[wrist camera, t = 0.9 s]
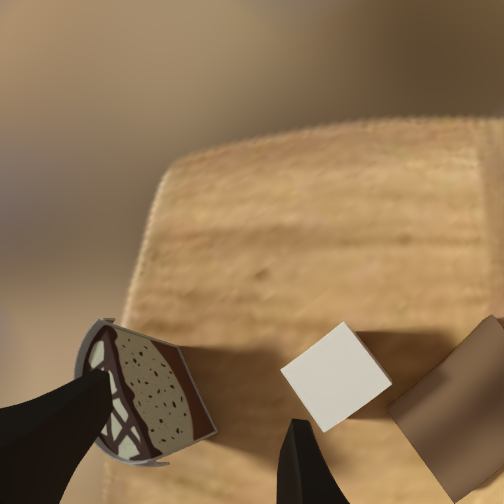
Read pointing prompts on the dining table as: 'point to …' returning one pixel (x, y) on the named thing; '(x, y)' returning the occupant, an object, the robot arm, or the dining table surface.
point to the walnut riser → (459, 412)
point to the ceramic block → (336, 376)
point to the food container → (144, 395)
